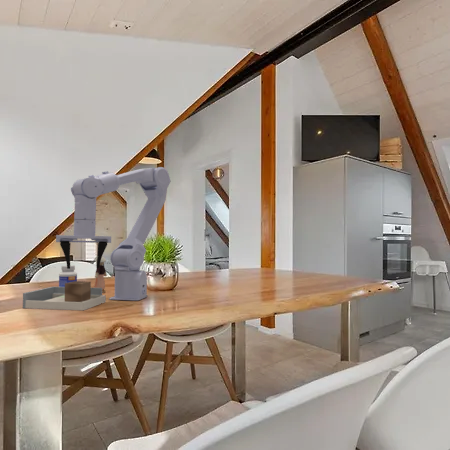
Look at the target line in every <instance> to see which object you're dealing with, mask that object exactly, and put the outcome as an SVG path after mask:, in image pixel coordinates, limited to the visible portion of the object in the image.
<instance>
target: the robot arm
mask: <svg viewBox="0 0 450 450" xmlns="http://www.w3.org/2000/svg"><path fill="white" fill-rule="evenodd" d="M130 183H136V184H138V185H139V186H140V187H141V189H142V191H143V193H144V195H145V196H146V197H147V200H146V202H145V204H144V206H143V207H142V210H141V211H140V213H139V215H138V216H137V219H136V221H135V222H134V224H133V226H132V229H131V230H130V232H129V234H128V236H127V238H125V239H123V240H122V241H121V242H120V243H119V245H117V247H116V248H115V249H113V250H112V252H111V253H110V257H109V259H110V262H111V265H112V266H113V270H114V296H111V297H109V299H108V300H111V301H112V300H114V301H115V300H116V301H140V300H142V299H145V298H147V297H148V294H147V293H148V292H147V291H148V290H147V289H148V288H147V287H148V277H147V276H148V275H147V272H146V271H145V270H141V267H142V265H143V264H144V260H145V254H146V252H147V249H146V247H145V246H144V244H145V243H146V240H147V238H148V237H149V234H150V232H151V230H152V229H153V227H154V224H155V222H156V220H157V218H158V217H159V214H160V212H161V210H162V209H163V206H164V205H165V202H166V200H167V192H168V188H169V185H170V184H171V177H170V174H169V172H168V170H167V169H166V168H165V167H162V166H158V167H148V168H147V167H146V168H140V169H134V170H131V171H127V172H123V173H119V174H116V173H114V172H111V171H110V172H109V171H108V170H106V171H102V172H101V174H97V175H94V174H90V175H88V177H85V178H84V177H83V178H80V179H79V178H78V179H77V180H75V181H74V182H73V184H72V187H70V191H71V193H72V196H73V197H74V215H73V217H74V218H73V219H74V221H73V235H72V234H71V235H69V234H67V235H63V234H62V235H61V234H60V235H59V234H56V235H55V238H56V239H55V242H56V243H59V245H60V247H61V250H62V252H63V255H64V258H65V261H66V265H67V269H70V265H71V243H95V244H96V243H97V254H96V255H97V256H96V257H97V264H96V265H95V266H96V267H95V268H96V269H97V268H99V266H100V261H101V258H102V256H104V252H105V250H106V248H107V246H108V244H112V235H96V224H97V223H96V222H97V221H96V220H97V219H96V217H97V216H96V215H97V198H98V197H99V196H101V195H105V194H108V193H113V192H116V191H118V189H119V188H120V186H121V185H126V184H130ZM78 239H80V240H78ZM81 239H87V240H81ZM88 239H90V240H88Z"/></svg>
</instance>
